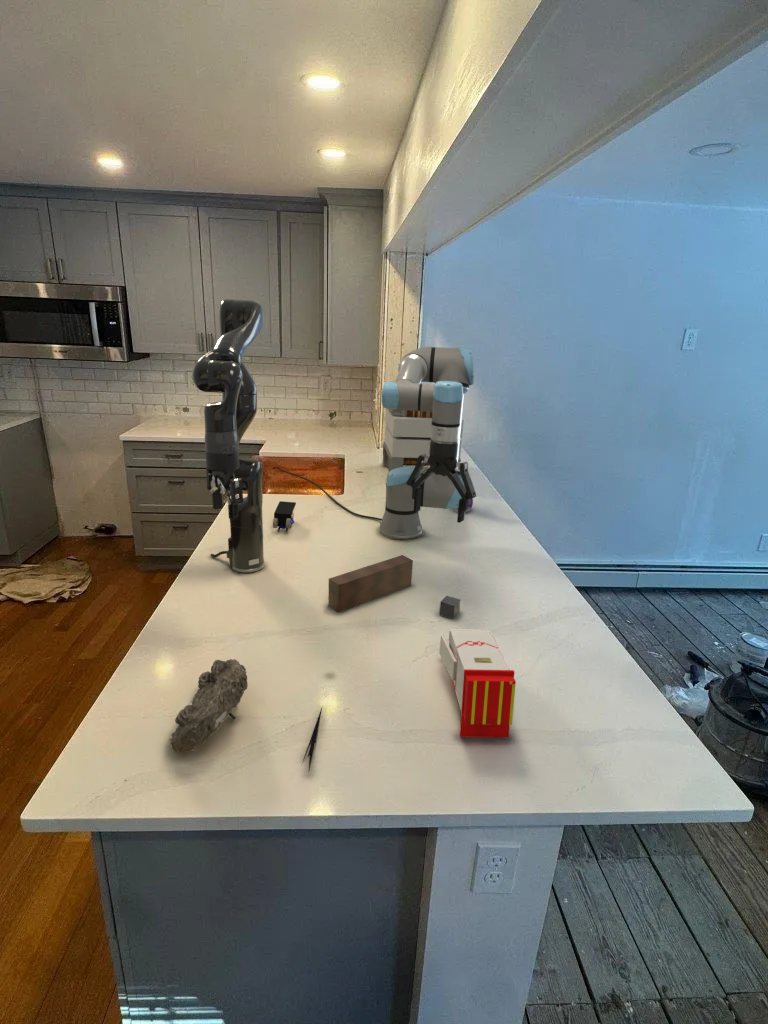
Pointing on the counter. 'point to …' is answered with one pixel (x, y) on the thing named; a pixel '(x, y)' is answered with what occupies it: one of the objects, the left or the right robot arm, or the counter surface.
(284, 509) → the figurine character
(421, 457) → the right robot arm
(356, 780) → the counter surface
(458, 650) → the toy
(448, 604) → the slate cube
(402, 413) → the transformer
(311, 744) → the feather
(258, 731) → the counter surface
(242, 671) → the fossil
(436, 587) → the counter surface
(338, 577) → the walnut bar
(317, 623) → the counter surface
